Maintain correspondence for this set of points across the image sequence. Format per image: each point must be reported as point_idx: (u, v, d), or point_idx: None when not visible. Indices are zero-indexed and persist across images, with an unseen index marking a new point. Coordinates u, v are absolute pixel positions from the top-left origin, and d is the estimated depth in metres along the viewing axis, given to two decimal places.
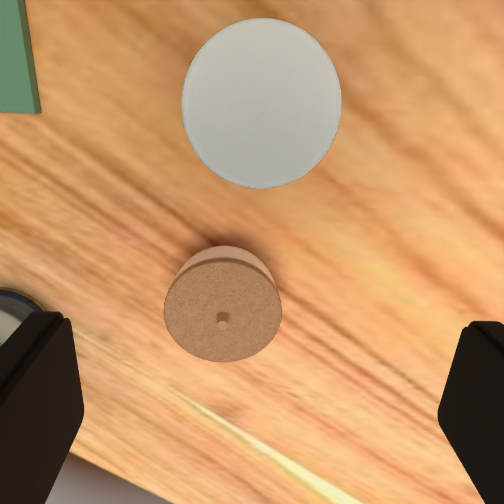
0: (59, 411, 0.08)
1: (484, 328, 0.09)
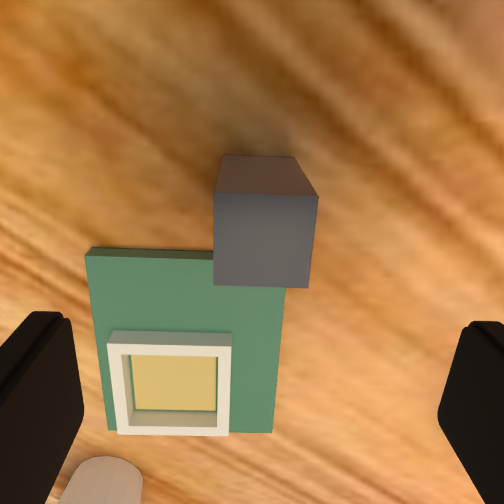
0: (59, 411, 0.08)
1: (484, 328, 0.09)
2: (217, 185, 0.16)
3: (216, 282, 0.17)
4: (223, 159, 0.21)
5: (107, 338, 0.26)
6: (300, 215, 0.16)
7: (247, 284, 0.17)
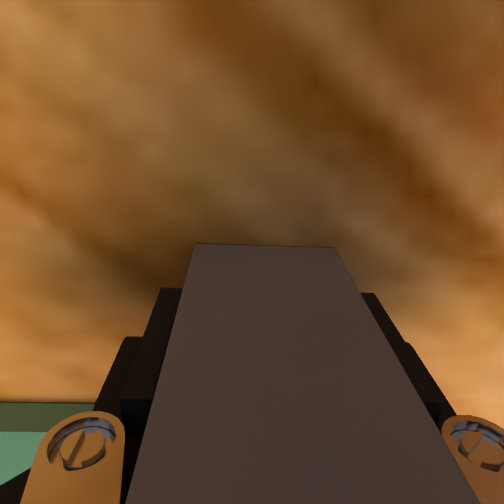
0: None
1: None
2: (144, 452, 0.05)
3: None
4: (191, 265, 0.10)
5: None
6: None
7: None
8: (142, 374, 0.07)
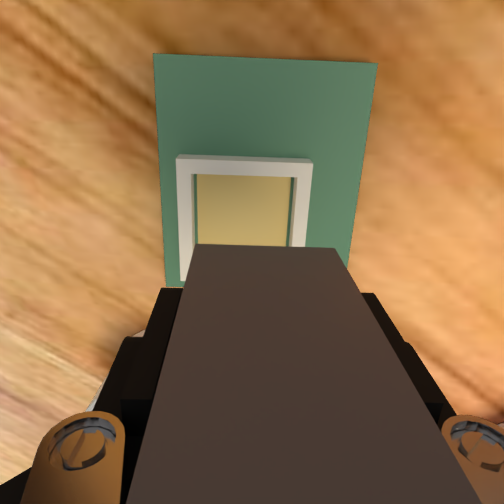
0: None
1: None
2: (145, 453, 0.05)
3: None
4: (192, 265, 0.10)
5: (172, 165, 0.23)
6: None
7: None
8: (142, 374, 0.07)
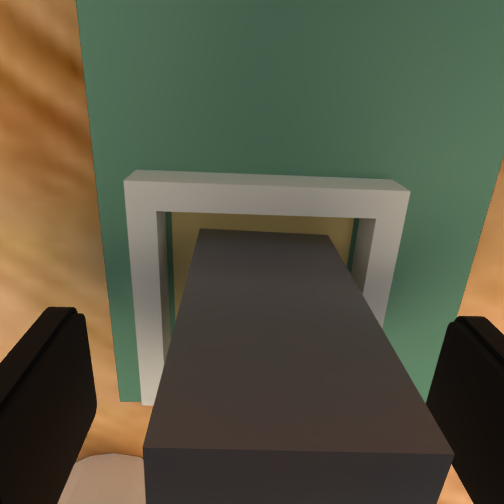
0: (74, 404, 0.09)
1: (468, 323, 0.09)
2: (163, 387, 0.06)
3: None
4: (197, 246, 0.11)
5: (122, 191, 0.12)
6: (395, 493, 0.05)
7: None
8: None
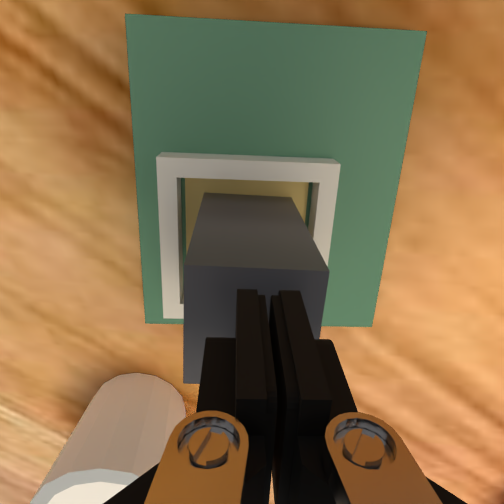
0: None
1: (280, 295, 0.10)
2: (190, 250, 0.12)
3: (188, 379, 0.12)
4: (203, 200, 0.17)
5: (152, 166, 0.18)
6: (304, 294, 0.11)
7: None
8: (249, 374, 0.07)
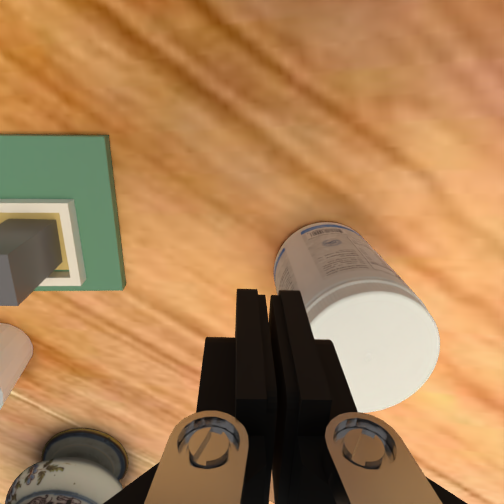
0: None
1: (280, 295, 0.10)
2: None
3: None
4: (0, 223, 0.33)
5: None
6: (0, 264, 0.28)
7: None
8: (249, 374, 0.07)
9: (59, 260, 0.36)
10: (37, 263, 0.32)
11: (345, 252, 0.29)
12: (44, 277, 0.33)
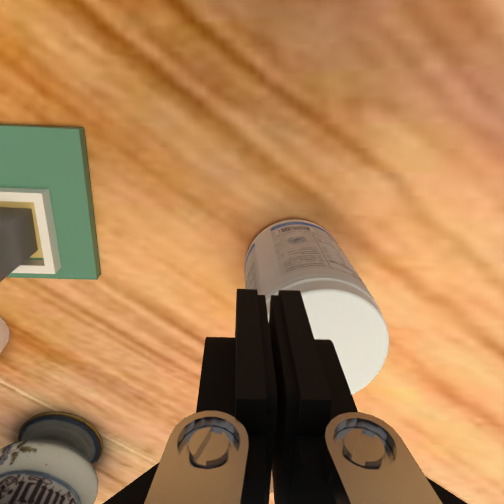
0: None
1: (280, 295, 0.10)
2: None
3: None
4: None
5: None
6: None
7: None
8: (249, 374, 0.07)
9: (34, 248, 0.36)
10: (10, 251, 0.32)
11: (307, 249, 0.30)
12: (18, 264, 0.34)
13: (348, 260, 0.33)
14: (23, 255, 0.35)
